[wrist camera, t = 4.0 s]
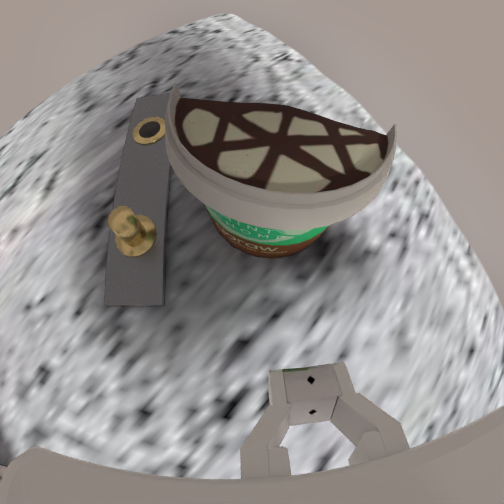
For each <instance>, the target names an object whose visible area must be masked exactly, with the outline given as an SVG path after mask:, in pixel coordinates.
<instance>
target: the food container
mask: <svg viewBox="0 0 504 504" xmlns="http://www.w3.org/2000/svg"><path fill="white" fill-rule="evenodd" d="M396 137H397V130H396V124H395V125H394V126H393V127H392V128H391V130H390V131H389V132H388V133H387V135H384V134H380V133H378V132H375V131H372V130H366V129H361V128H357V127H354V126H350V125H347V124H343V123H340V122H336V121H333V120H330V119H328V118H325V117H322V116H319V115H316V114H313V113H310V112H307V111H304V110H301V109H297V108H294V107H290V106H286V105H277V104H267V103H237V102H221V101H211V100H199V99H188V98H181V96H180V93H179V91H178V88H177V85H176V84H175V85H174V87H173V89H172V91H171V94H170V98H169V101H168V104H167V108H166V113H165V140H166V151H167V154H168V158H169V162H170V164H171V166H172V168H173V170H174V172H175V174H176V176H177V177H178V178H179V180H180V181H181V182H182V184H183V185H184V186H185V187H186V189H187V190H188V191H189V192H191V193H192V194H193V195H194V196H195V197H196V198H197V199H199V200H200V201H201V202H202V203H204V204H205V207H206V209H207V211H208V213H209V215H210V217H211V219H212V221H213V223H214V225H215V227H216V229H217V230H218V232H219V234H220V235H221V236H222V237H224V238H225V239H226V240H227V241H228V242H229V243H230V244H231V245H232V246H233V247H235V248H237V249H239V250H241V251H243V252H245V253H247V254H249V255H253V256H256V257H262V258H281V257H286V256H290V255H293V254H295V253H298V252H300V251H302V250H303V249H305V248H307V247H308V246H309V245H311V244H312V243H313V242H314V241H315V240H316V239H317V238H318V237H319V236H320V235H321V234H322V233H323V232H324V231H325V230H326V229H327V228H328V227H329V226H330V225H331V224H334V223H337V222H340V221H342V220H345V219H347V218H349V217H351V216H352V215H354V214H356V213H358V212H359V211H361V210H362V209H363V208H365V207H366V206H367V205H368V204H369V203H370V202H371V201H373V200H374V198H375V197H376V196H377V194H378V193H379V192H380V190H381V189H382V187H383V185H384V183H385V181H386V178H387V176H388V174H389V171H390V168H391V165H392V162H393V159H394V155H395V150H396Z"/></svg>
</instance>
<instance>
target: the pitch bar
mask: <svg viewBox="0 0 504 504" xmlns="http://www.w3.org/2000/svg"><path fill="white" fill-rule="evenodd" d="M170 94H171V93H167V94H160V95H153V96H147V97H141V98H137V100H136V103H135V107H134V110H133V114H132V118H131V122H130V125H129V129H128V133H127V138H126V142H125V146H124V151H123V155H122V160H121V165H120V170H119V175H118V180H117V186H116V192H115V198H114V204H113V211H112V212H111V213H110V215H109V218H108V225H109V227H110V234H109V243H108V253H107V265H106V279H105V298H104V305H106V306H165V254H166V230H167V213H168V198H169V186H170V175H171V164H170V162H169V158H168V154H167V151H166V140H165V113H166V108H167V104H168V101H169V98H170Z"/></svg>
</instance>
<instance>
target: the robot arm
mask: <svg viewBox="0 0 504 504" xmlns="http://www.w3.org/2000/svg"><path fill="white" fill-rule="evenodd" d="M269 401H270V405H269V406H268V407H267V409H266V410H265V412H264V414H263V415H262V417H261V418H260V420H259V421H258V423H257V424H256V426H255V427H254V429H253V430H252V432H251V433H250V435H249V436H248V438H247V439H246V441H245V442H244V444H243V445H242V447H241V448H240V454H241V479H194V478H180V477H169V476H160V475H152V474H145V473H138V472H132V471H126V470H121V469H116V468H111V467H106V466H102V465H98V464H94V463H90V462H86V461H82V460H78V459H75V458H72V457H68V456H65V455H62V454H59V453H56V452H53V451H50V450H47V449H44V448H41V447H33V448H31V449H29V450H27V451H26V452H24V453H22V454H21V455H19V456H18V457H17V458H15V459H14V460H12V461H11V462H10V464H9V465H8V467H5V466H2V465H0V504H504V405H503V406H502V407H500V408H498V409H496V410H495V411H493V412H491V413H489V414H487V415H486V416H484V417H482V418H480V419H478V420H476V421H474V422H472V423H470V424H468V425H466V426H464V427H462V428H460V429H458V430H455V431H453V432H451V433H449V434H446V435H444V436H442V437H439V438H437V439H434V440H432V441H429V442H427V443H424V444H421V445H419V446H416V447H413V448H409V445H408V442H407V439H406V437H405V434H404V432H403V429H402V426H401V424H400V422H398V421H397V420H395V419H394V418H393V417H391V416H390V415H388V414H387V413H386V412H384V411H383V410H382V409H380V408H379V407H377V406H376V405H375V404H373V403H372V402H371V401H369V400H368V399H367V398H365V397H364V396H363V395H361V394H360V393H355V390H354V387H353V384H352V381H351V378H350V376H349V373H348V370H347V367H346V365H345V363H344V362H340V363H333V364H324V365H317V366H310V367H306V368H294V369H280V370H269ZM329 420H331V422H332V423H333V424H334V425H335V426H336V427H337V428H338V429H339V430H340V431H341V432H342V433H343V434H344V435H345V436H346V437H347V438H348V439H349V440H350V441H351V442H352V443H353V444H354V445H355V446H356V448H355V450H354V451H353V453H352V455H351V456H350V458H349V459H348V460H349V465H350V466H346V467H341V468H337V469H331V470H326V471H320V472H314V473H307V474H300V475H292V476H291V469H290V462H289V455H288V449H287V448H285V447H283V446H282V447H279V446H280V444H281V442H282V440H283V438H284V436H285V434H286V432H287V431H288V429H289V426H293V425H300V424H307V423H314V422H322V421H329Z"/></svg>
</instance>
